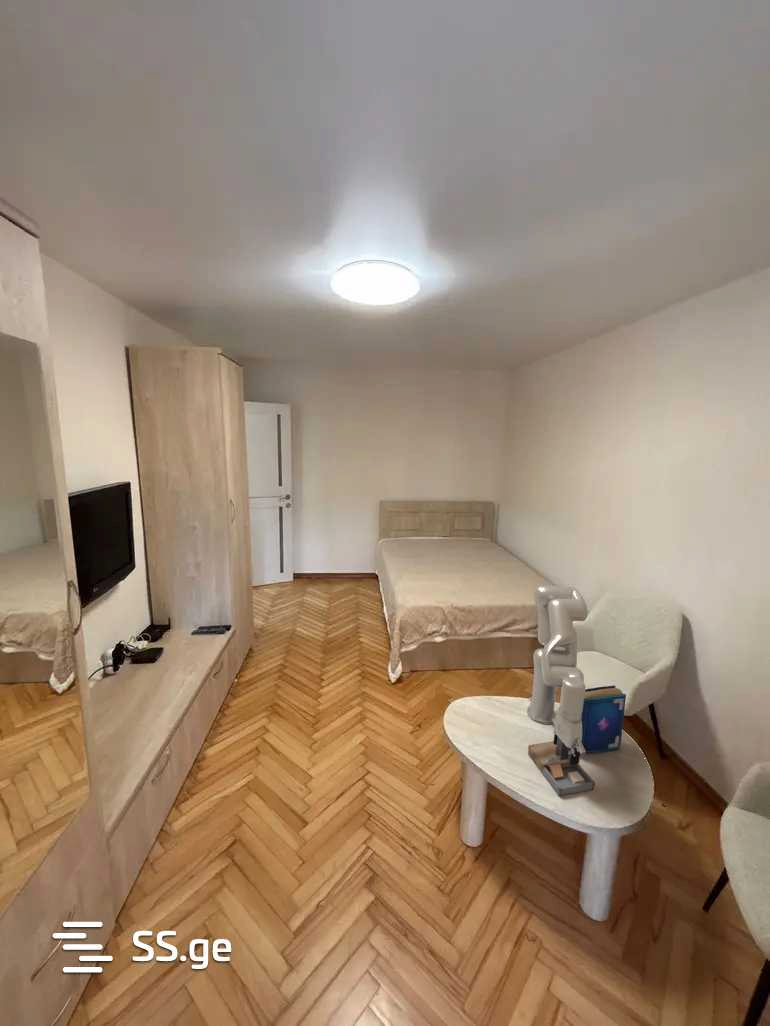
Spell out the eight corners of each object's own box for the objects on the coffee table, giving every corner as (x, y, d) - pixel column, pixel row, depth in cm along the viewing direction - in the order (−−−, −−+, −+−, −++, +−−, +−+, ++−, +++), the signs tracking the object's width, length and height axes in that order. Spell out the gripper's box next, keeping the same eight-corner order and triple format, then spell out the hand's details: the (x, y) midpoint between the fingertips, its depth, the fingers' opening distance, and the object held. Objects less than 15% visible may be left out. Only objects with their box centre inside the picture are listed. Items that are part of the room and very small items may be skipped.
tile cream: (574, 781, 150) (574, 785, 150) (584, 779, 151) (584, 783, 151) (567, 772, 154) (567, 776, 154) (577, 771, 154) (576, 774, 155)
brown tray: (527, 754, 165) (528, 745, 164) (559, 749, 168) (560, 740, 167) (542, 774, 155) (543, 764, 155) (575, 768, 158) (576, 759, 158)
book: (572, 758, 163) (579, 700, 159) (561, 745, 170) (567, 689, 166) (620, 750, 168) (628, 694, 163) (608, 738, 174) (615, 683, 170)
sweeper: (544, 761, 156) (546, 737, 154) (572, 756, 158) (575, 732, 157) (548, 767, 153) (551, 742, 151) (577, 762, 156) (580, 738, 154)
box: (542, 774, 155) (543, 767, 155) (575, 768, 158) (576, 761, 158) (559, 796, 146) (559, 789, 145) (594, 789, 149) (595, 782, 148)
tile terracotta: (548, 765, 155) (550, 765, 154) (557, 763, 156) (560, 763, 155) (551, 777, 153) (553, 778, 152) (561, 776, 154) (563, 776, 153)
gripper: (546, 698, 157) (542, 738, 161) (577, 730, 141) (571, 773, 144) (564, 695, 159) (560, 735, 162) (596, 727, 142) (590, 770, 146)
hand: (565, 753), depth 153 cm, fingers open, 9 cm apart
